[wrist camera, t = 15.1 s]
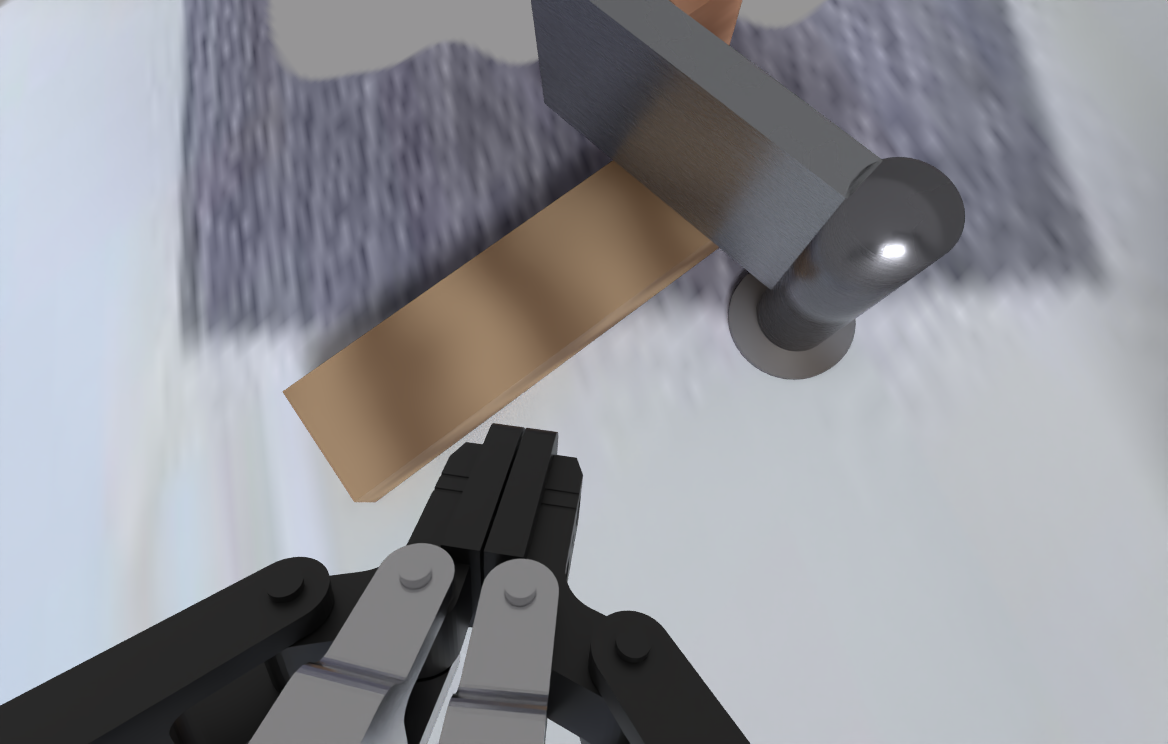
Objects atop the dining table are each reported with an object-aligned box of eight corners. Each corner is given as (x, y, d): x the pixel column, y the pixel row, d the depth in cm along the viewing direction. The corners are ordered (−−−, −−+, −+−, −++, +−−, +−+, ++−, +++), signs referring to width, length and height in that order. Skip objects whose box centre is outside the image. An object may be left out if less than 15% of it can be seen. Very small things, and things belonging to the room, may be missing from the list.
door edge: (665, 54, 32) (686, -89, 24) (903, 309, 29) (1018, 237, 21) (261, 329, 29) (138, 266, 21) (473, 651, 26) (419, 715, 18)
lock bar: (848, 313, 28) (989, 206, 18) (800, 366, 27) (917, 288, 17) (584, 99, 31) (577, -97, 21) (536, 144, 30) (506, -34, 20)
